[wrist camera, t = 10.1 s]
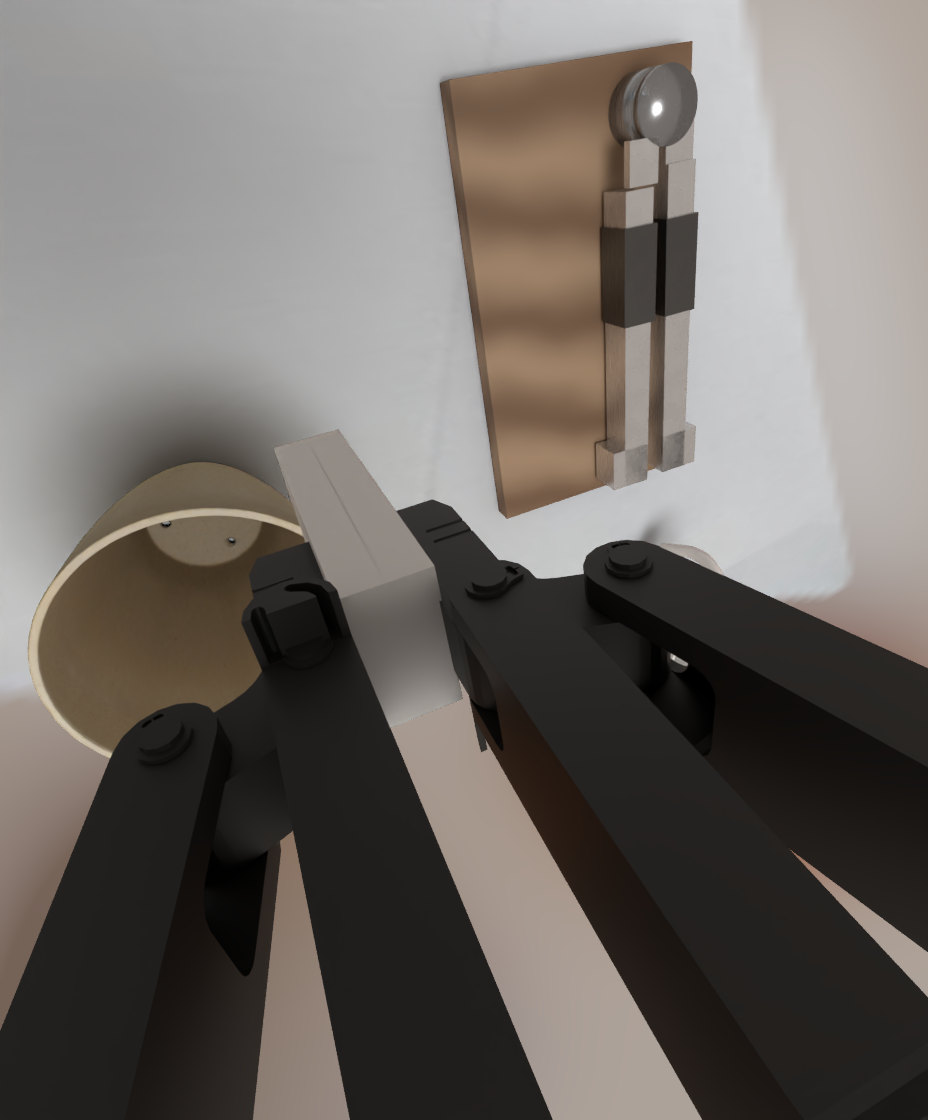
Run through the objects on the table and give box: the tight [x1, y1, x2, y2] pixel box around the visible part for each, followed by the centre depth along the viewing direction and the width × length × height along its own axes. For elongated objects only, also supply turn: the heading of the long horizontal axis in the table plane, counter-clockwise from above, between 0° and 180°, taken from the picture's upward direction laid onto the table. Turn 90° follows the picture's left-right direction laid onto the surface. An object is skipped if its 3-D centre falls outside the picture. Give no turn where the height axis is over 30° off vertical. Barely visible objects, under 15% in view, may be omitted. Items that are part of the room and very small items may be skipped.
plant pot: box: [28, 462, 305, 758], centre depth 37 cm, size 15×15×16 cm
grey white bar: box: [608, 66, 698, 472], centre depth 45 cm, size 26×6×3 cm, turn 9°
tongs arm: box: [596, 62, 697, 490], centre depth 44 cm, size 26×6×3 cm, turn 8°
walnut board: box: [440, 41, 692, 519], centre depth 45 cm, size 28×16×2 cm, turn 9°
